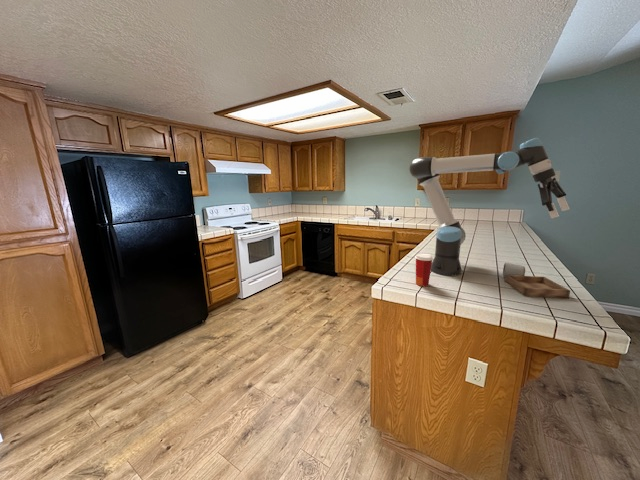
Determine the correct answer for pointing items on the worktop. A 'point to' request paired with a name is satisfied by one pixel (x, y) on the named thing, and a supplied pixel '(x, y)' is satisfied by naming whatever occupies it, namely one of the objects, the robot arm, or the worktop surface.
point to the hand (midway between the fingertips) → (560, 213)
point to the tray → (537, 286)
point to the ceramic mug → (513, 270)
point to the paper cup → (423, 269)
